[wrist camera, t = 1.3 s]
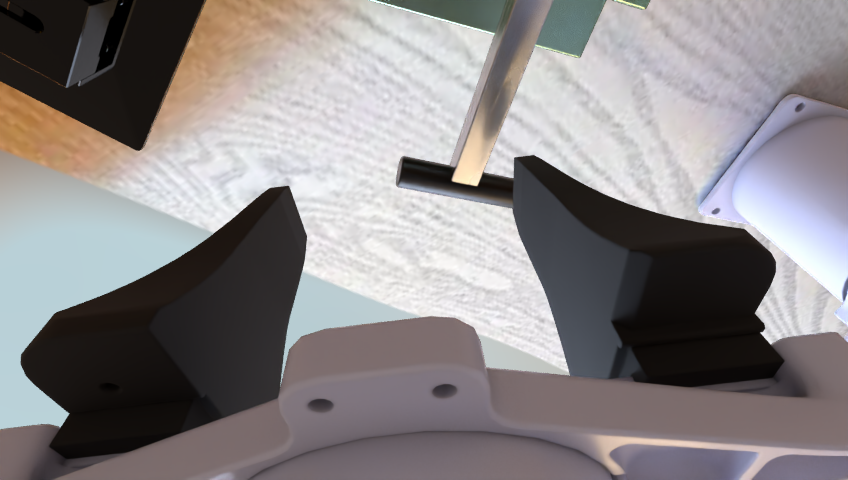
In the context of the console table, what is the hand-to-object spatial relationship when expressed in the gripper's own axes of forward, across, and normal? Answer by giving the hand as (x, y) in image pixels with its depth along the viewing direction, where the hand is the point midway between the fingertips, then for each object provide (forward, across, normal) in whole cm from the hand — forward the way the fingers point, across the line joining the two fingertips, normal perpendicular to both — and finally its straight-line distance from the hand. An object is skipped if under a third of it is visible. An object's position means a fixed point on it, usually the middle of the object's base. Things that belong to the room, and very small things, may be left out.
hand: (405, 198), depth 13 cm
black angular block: (+10, +12, -6) cm, 17 cm away
